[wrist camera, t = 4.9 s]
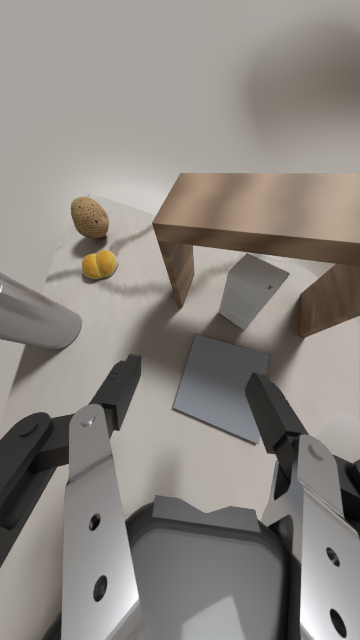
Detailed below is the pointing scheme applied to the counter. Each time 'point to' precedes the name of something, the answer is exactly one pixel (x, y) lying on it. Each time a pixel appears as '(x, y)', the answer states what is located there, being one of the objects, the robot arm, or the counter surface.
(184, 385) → the slate mat
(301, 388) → the counter surface
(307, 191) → the walnut shelf
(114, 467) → the robot arm
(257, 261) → the skincare box
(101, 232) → the brown potato
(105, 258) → the bread roll
